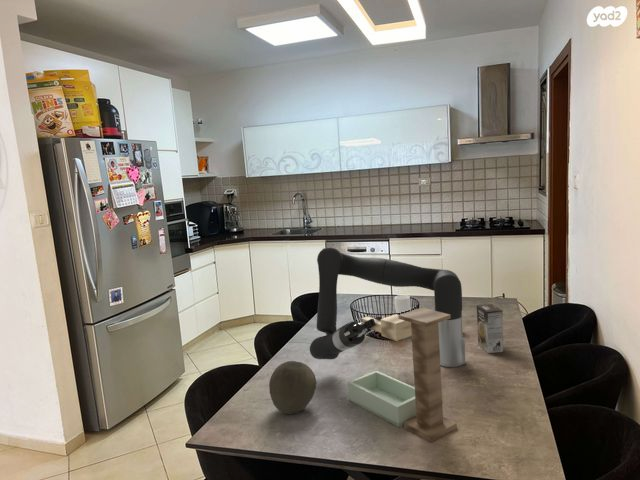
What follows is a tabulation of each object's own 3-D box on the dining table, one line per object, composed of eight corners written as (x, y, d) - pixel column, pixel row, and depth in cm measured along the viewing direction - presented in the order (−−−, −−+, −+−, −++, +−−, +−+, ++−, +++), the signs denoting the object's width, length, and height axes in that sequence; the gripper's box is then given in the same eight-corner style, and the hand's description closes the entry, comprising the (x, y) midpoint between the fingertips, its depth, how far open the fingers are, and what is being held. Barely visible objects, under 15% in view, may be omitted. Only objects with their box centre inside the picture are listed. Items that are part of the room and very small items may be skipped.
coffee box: (477, 345, 186) (475, 304, 184) (493, 343, 187) (492, 303, 184) (487, 353, 177) (486, 311, 175) (504, 351, 178) (503, 309, 175)
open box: (349, 400, 150) (347, 382, 149) (377, 387, 157) (376, 370, 156) (398, 427, 132) (397, 407, 131) (428, 412, 139) (427, 392, 138)
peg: (357, 327, 146) (356, 311, 145) (372, 322, 149) (371, 307, 149) (396, 341, 132) (395, 323, 131) (411, 335, 136) (410, 318, 135)
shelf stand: (404, 427, 132) (397, 315, 127) (428, 414, 138) (423, 307, 133) (431, 442, 124) (425, 323, 119) (456, 428, 129) (451, 314, 125)
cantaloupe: (300, 426, 137) (296, 376, 135) (262, 416, 145) (257, 369, 143) (326, 403, 149) (322, 358, 147) (289, 395, 156) (285, 352, 154)
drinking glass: (412, 327, 212) (411, 294, 210) (410, 332, 206) (408, 299, 203) (397, 327, 214) (395, 294, 212) (395, 332, 208) (392, 298, 206)
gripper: (327, 330, 153) (354, 314, 139) (360, 320, 161) (389, 303, 147) (335, 353, 151) (364, 338, 137) (368, 341, 159) (399, 326, 145)
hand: (377, 320), depth 142 cm, fingers closed on peg, 2 cm apart
